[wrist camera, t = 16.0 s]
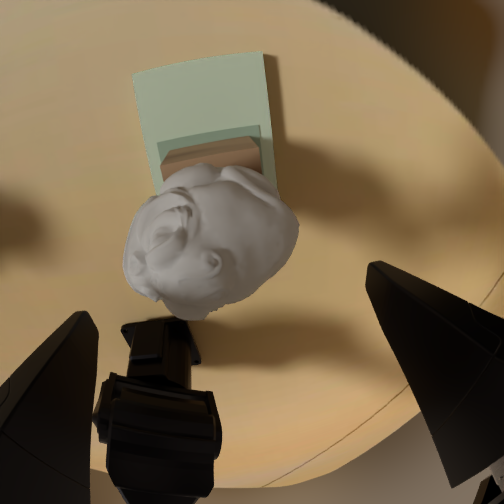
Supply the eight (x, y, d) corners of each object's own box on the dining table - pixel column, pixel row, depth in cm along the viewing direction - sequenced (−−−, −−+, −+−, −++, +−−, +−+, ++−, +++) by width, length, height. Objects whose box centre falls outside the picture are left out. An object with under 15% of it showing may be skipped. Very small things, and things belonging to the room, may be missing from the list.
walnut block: (258, 207, 20) (269, 234, 17) (186, 221, 20) (182, 250, 17) (248, 135, 18) (258, 147, 14) (169, 150, 17) (159, 165, 14)
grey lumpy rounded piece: (132, 166, 14) (80, 226, 8) (268, 134, 14) (316, 171, 8) (165, 265, 17) (151, 359, 11) (284, 239, 17) (323, 325, 11)
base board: (277, 218, 22) (280, 225, 21) (170, 236, 22) (169, 244, 21) (259, 53, 16) (262, 50, 15) (135, 74, 15) (131, 74, 14)
